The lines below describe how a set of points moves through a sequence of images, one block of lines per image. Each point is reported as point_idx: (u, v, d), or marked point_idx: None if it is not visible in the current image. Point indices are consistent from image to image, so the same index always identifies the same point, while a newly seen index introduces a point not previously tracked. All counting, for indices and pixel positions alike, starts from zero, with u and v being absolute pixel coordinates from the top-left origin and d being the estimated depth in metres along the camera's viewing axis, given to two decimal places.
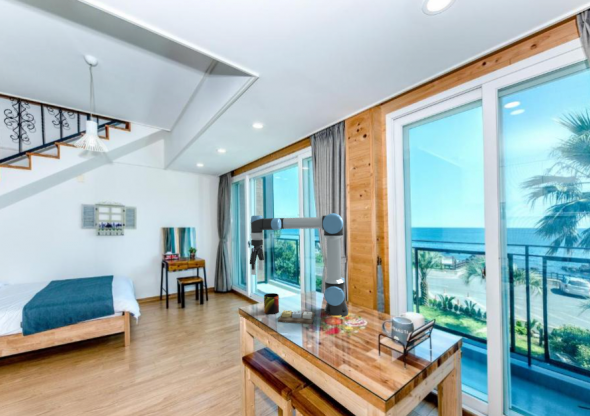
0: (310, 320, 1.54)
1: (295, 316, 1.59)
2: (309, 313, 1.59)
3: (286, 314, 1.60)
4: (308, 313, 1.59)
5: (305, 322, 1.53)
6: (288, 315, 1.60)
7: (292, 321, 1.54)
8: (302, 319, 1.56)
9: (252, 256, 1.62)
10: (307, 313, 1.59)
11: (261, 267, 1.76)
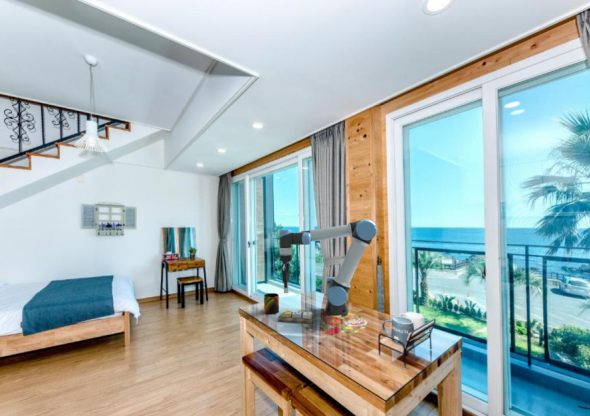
0: (310, 320, 1.54)
1: (295, 316, 1.59)
2: (309, 313, 1.59)
3: (286, 314, 1.60)
4: (308, 313, 1.59)
5: (305, 322, 1.53)
6: (288, 315, 1.60)
7: (292, 321, 1.54)
8: (302, 319, 1.56)
9: (284, 276, 1.59)
10: (307, 313, 1.59)
11: None
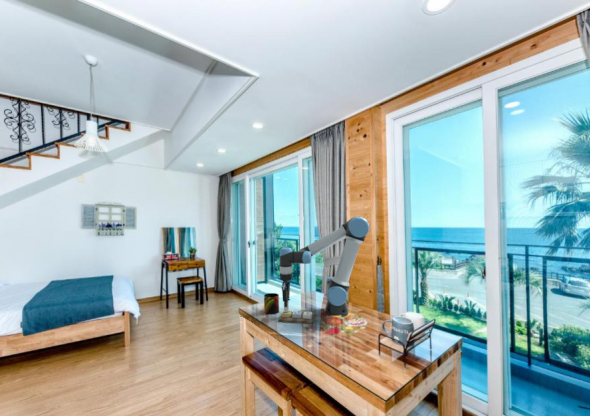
0: (310, 320, 1.54)
1: (295, 316, 1.59)
2: (309, 313, 1.59)
3: (286, 314, 1.60)
4: (308, 313, 1.59)
5: (305, 322, 1.53)
6: (288, 315, 1.60)
7: (292, 321, 1.54)
8: (302, 319, 1.56)
9: (284, 295, 1.58)
10: (307, 313, 1.59)
11: None
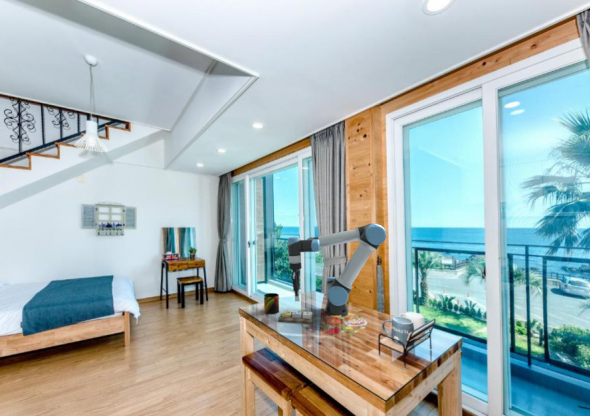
0: (310, 320, 1.54)
1: (295, 316, 1.59)
2: (309, 313, 1.59)
3: (286, 315, 1.60)
4: (308, 313, 1.59)
5: (305, 322, 1.53)
6: (288, 316, 1.60)
7: (292, 321, 1.54)
8: (302, 319, 1.56)
9: (294, 284, 1.57)
10: (307, 313, 1.59)
11: None
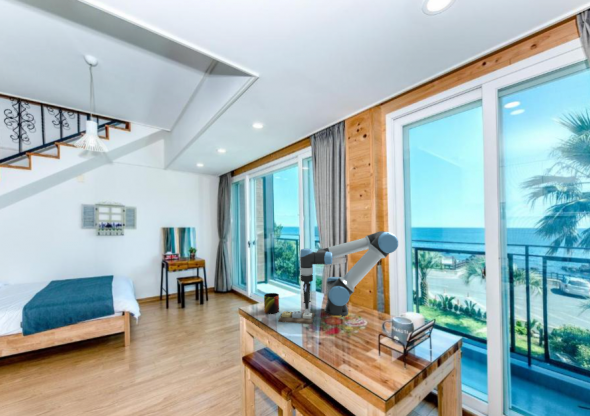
0: (310, 320, 1.54)
1: (295, 316, 1.59)
2: (309, 314, 1.59)
3: (286, 315, 1.60)
4: (308, 314, 1.59)
5: (305, 322, 1.53)
6: (288, 316, 1.60)
7: (292, 321, 1.54)
8: (302, 319, 1.56)
9: (305, 296, 1.56)
10: (307, 314, 1.59)
11: None
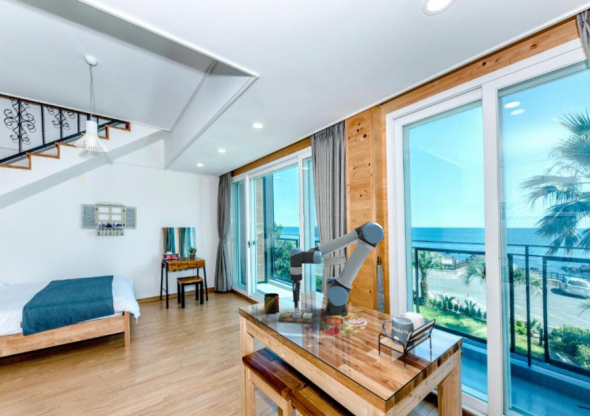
0: (310, 320, 1.54)
1: (295, 316, 1.59)
2: (309, 314, 1.59)
3: (286, 315, 1.60)
4: (308, 314, 1.59)
5: (305, 322, 1.53)
6: (288, 316, 1.60)
7: (292, 321, 1.54)
8: (302, 319, 1.56)
9: (294, 295, 1.57)
10: (307, 314, 1.59)
11: None
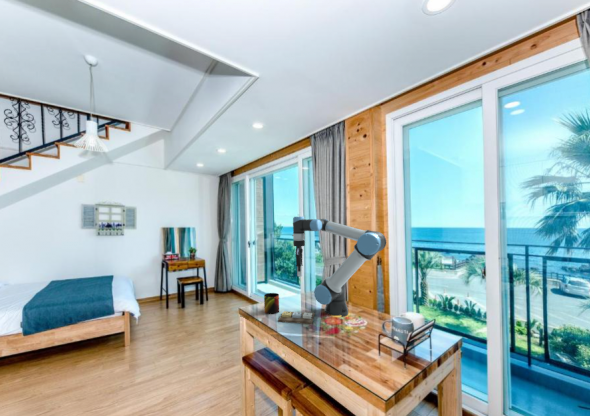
0: (310, 320, 1.54)
1: (295, 317, 1.59)
2: (309, 314, 1.59)
3: (286, 315, 1.60)
4: (308, 314, 1.59)
5: (305, 322, 1.53)
6: (288, 316, 1.60)
7: (292, 321, 1.54)
8: (302, 319, 1.56)
9: (298, 259, 1.68)
10: (307, 314, 1.59)
11: None
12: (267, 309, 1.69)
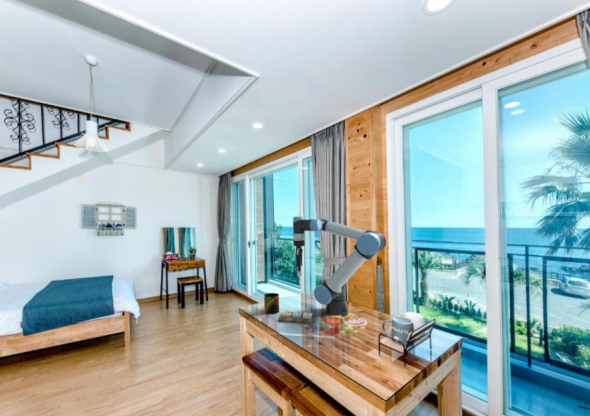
0: (310, 320, 1.54)
1: (295, 317, 1.59)
2: (309, 314, 1.59)
3: (286, 315, 1.60)
4: (308, 314, 1.59)
5: (305, 322, 1.53)
6: (288, 316, 1.60)
7: (292, 321, 1.54)
8: (302, 319, 1.56)
9: (298, 259, 1.68)
10: (307, 314, 1.59)
11: None
12: (267, 309, 1.69)
